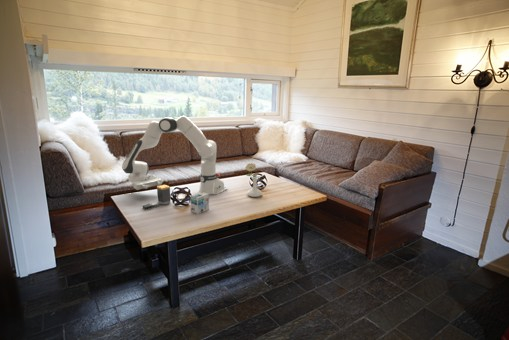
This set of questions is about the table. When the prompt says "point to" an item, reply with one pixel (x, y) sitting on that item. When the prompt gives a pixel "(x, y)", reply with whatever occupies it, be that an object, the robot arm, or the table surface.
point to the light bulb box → (199, 202)
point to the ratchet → (155, 205)
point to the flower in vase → (254, 191)
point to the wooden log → (163, 193)
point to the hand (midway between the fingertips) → (153, 186)
